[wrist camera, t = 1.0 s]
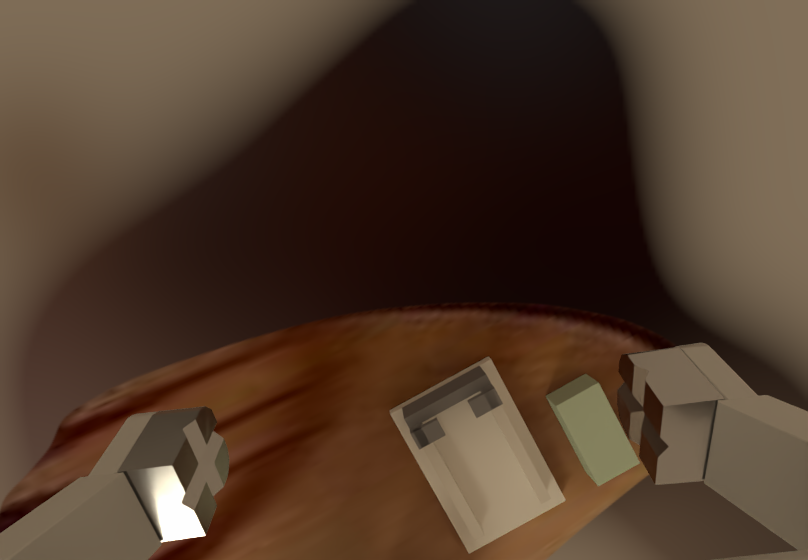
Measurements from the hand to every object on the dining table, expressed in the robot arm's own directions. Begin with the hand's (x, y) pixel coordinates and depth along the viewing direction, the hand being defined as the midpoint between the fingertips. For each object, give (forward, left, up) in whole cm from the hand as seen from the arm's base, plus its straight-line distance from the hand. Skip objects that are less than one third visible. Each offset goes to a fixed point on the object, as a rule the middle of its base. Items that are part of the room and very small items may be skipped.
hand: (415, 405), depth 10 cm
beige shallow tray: (-23, 0, -43) cm, 49 cm away
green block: (-26, -12, -44) cm, 52 cm away
